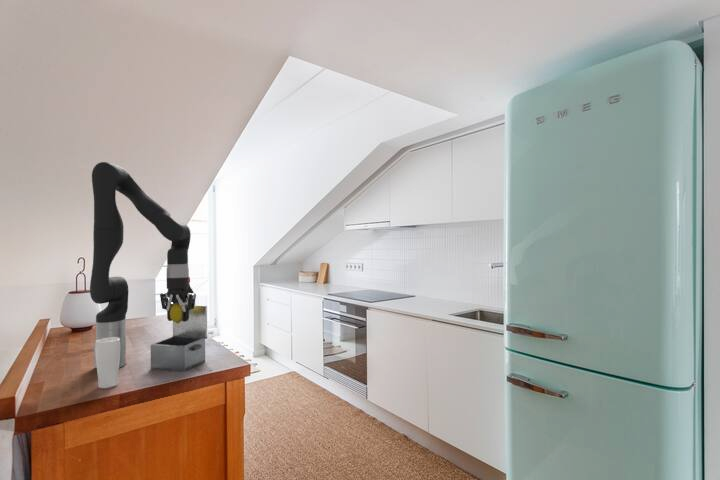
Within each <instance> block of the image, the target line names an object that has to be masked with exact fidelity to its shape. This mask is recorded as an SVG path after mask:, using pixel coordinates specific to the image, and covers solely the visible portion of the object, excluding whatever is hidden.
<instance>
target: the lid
mask: <svg viewBox="0 0 720 480" xmlns="http://www.w3.org/2000/svg"><path fill="white" fill-rule="evenodd" d="M172 336H180V337H198V338H205V340H207V339H208V306H207V305H196V304H195V305H194V309H191V310H189V319H188V321H186V322H183V321H181V322H180V323H179V324H177V323H176V322H174V321H172Z"/></svg>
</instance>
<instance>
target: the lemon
mask: <svg viewBox="0 0 720 480" xmlns="http://www.w3.org/2000/svg"><path fill="white" fill-rule="evenodd" d="M182 312H184V311H183V309H182V307H181V306H180V304H179V303H176V304H174V305H173V306H172V307H171V310H170V318H171V320H172V322H173V321H174V322H176V323H177V324H179V323H180V322H181V321H183V313H182Z"/></svg>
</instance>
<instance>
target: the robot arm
mask: <svg viewBox="0 0 720 480" xmlns="http://www.w3.org/2000/svg"><path fill="white" fill-rule="evenodd" d="M91 183H92V192H93V256H92V259H93V260H92V269H91V274H90V275H91V276H90V283H89V284H90V285H89V294H90V298H91V300H92V301H93V303H94V304H97V305H98V304H107V303H108V304H107V306H106V307H105V308H104V309H102V310H100V311H99V312H97V314H96V315H95V328H96V329H95V331H96V332H95V335H96V336H95V337H96V338H95V341H94V342H93V357H94V358H93V366H94V367H93V368H95V369H97V365H96V356H95V342H96V341H97V340H99V339H103V338H108V337H119V338H120V361H119V368H122V367H123V366H125V365H126V364H127V347H126V346H127V337H126V336H127V331H126V329H127V328H126V325H127V324H126V322H127V321H126V315H127V313H128V308H129V306H128V305H129V284H128V282H127V280H126V278H125V277H123V276H110V269H111V265H112V262H113V260H114V259H115V257H116V256H117V254H119V253H118V252H119V251H120V250H121V248H122V246H123V243H124V233H125V232H124V222H123V219H122V216H121V214H120V211H119V208H118V205H117V202H116V201H117V200H116V193H117V192H118V193H120V194H121V195H123V196H125V197H126V198H127V199H128V200H129V201H130V202H131V203H132V204H133V206H134V207H135V209H136V210H137V211H138V213H140V215H142V217H144V218H145V219H146V220H147V221H149V223H151V224H152V225H153V226H154V227H155V228H156V230H157V231H158V232H159V233H160V234H161V235H162V236H163V238H165V239H166V240H168V241H171V245H170V248H169V249H168V250H167V253H166V254H167V255H166V261H167V263H166V264H167V265H166V289H167V292H161V293H160V294H159V297H160V302H161V303H160V304H161V309H162V310H166V312H167V313H166V315H167V316H166V318H167V320H168V321H169V322H171V321H172V320H171V318H170V310H171V307H172V306H173V305H174V304H176V303H179V304H180V306H181V307H182V309H183V311H184V312H182V313H183V322H186V321H188V319H189V310H191V309H194V305H196V299H197V298H196V297H197V294H196V293H195V292H194V294H191V293H189V292H188V287H189V284H190V282H189V277H190V274H189V273H190V269H189V248H190V243H191V236H192V235H191V234H192V233H191V229H190V227H189V226H188V225H187V224H185V223H182V222H177V221H176V220H175V219H173V218H172V217H171V213H170V212H169V211H168V210H167V209H166V208H164V207H163V206H162V205H161V204H160V203H158V202H157V200H155V199H154V198H153V197H152V196H150V195H149V194H148V193H147V192H146V191H145V190H144V189H143V188H142V187H141V186H140V185H139V184H138V183H137V182H136V180H135V179H134V178H133V177H132V176H131V175H130V173H129V172H128V171H127V170H126V168H124V167H123V166H120V165H117V164H114V163H112V162H111V163H110V162H106V161H102V162H98V163H96V164H95V165H94V167H93V168H92V172H91ZM116 191H117V192H116ZM187 297H188V300H187ZM183 302H184V303H183ZM172 322H173V321H172Z"/></svg>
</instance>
